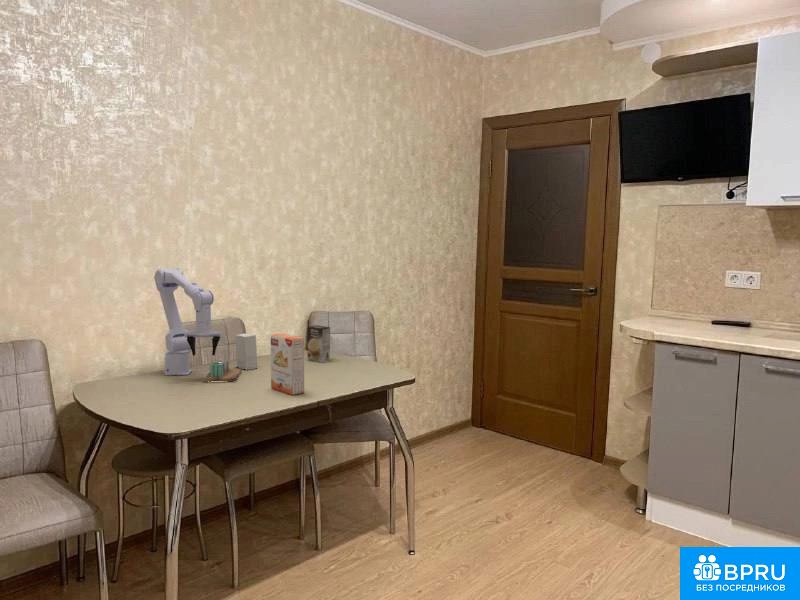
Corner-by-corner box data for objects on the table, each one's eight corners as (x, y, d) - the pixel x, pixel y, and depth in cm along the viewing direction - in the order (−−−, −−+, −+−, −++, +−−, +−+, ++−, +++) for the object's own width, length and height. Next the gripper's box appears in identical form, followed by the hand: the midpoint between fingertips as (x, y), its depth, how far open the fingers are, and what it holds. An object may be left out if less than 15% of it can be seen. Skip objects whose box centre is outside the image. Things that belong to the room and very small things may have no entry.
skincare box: (257, 368, 272) (257, 335, 271) (245, 370, 268) (245, 336, 267) (247, 365, 278) (247, 332, 277) (235, 367, 274) (235, 333, 273)
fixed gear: (211, 372, 257) (211, 361, 256) (214, 369, 263) (214, 358, 262) (227, 372, 257) (227, 360, 257) (229, 369, 264) (229, 357, 263)
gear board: (204, 382, 246) (204, 371, 246) (212, 372, 264) (212, 361, 263) (235, 382, 248) (235, 370, 247) (241, 372, 265) (241, 361, 265)
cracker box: (270, 388, 238) (269, 334, 236) (283, 386, 242) (283, 332, 240) (291, 395, 228) (291, 339, 226) (304, 393, 232) (304, 337, 230)
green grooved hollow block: (210, 377, 248) (209, 365, 248) (212, 374, 254) (212, 362, 253) (221, 377, 249) (221, 364, 248) (223, 374, 254) (223, 362, 254)
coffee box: (306, 360, 291) (306, 326, 290) (315, 358, 297) (315, 324, 295) (321, 363, 287) (322, 328, 285) (330, 360, 292) (330, 326, 290)
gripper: (182, 322, 244) (182, 357, 245) (220, 322, 245) (220, 356, 247) (186, 320, 251) (186, 353, 252) (223, 320, 252) (223, 353, 254)
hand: (203, 355), depth 250 cm, fingers open, 7 cm apart
